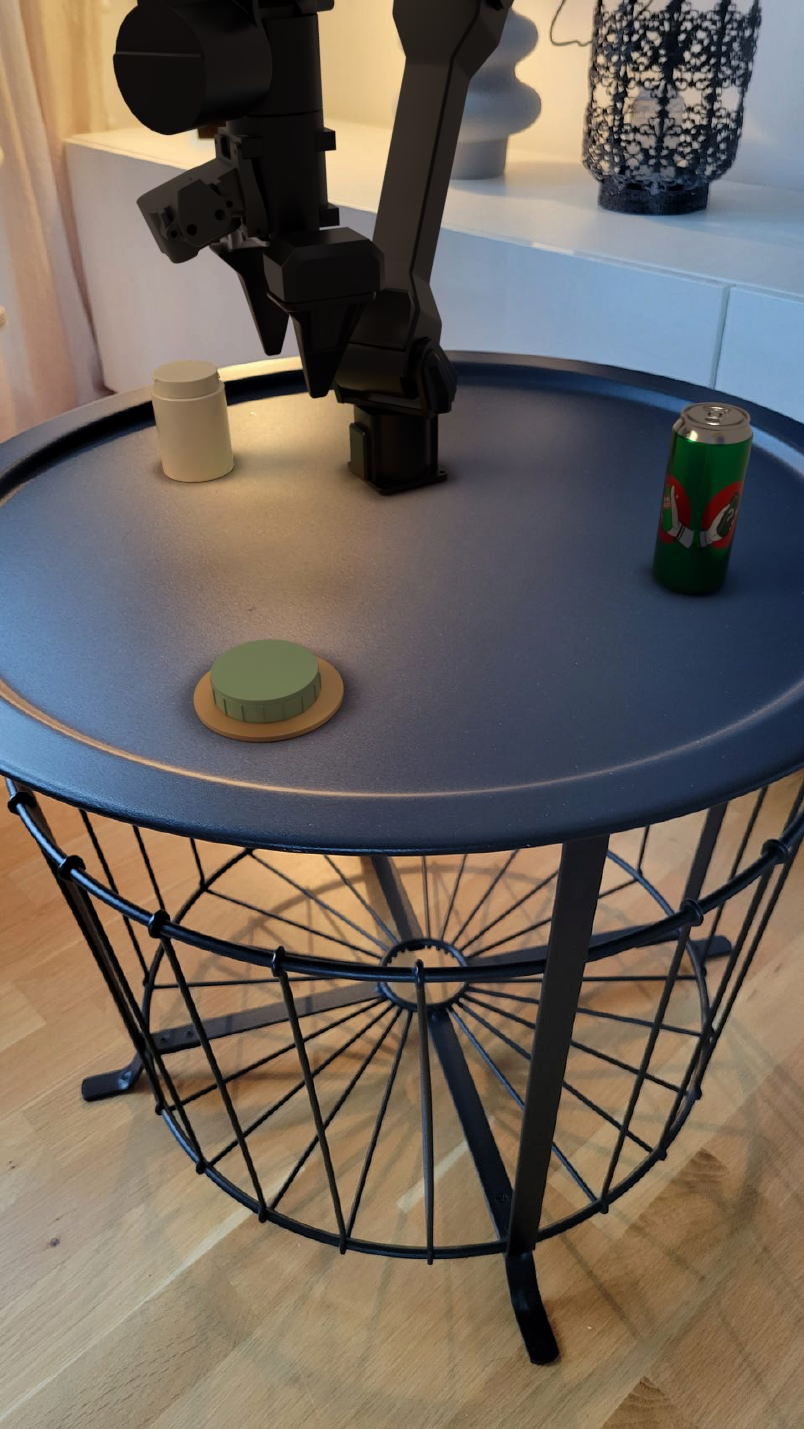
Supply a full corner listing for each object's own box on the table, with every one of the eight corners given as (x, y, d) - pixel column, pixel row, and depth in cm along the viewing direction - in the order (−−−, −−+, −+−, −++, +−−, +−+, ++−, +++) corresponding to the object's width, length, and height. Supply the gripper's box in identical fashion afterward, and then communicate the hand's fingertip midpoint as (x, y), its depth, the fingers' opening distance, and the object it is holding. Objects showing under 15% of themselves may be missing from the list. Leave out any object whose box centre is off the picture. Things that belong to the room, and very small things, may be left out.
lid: (219, 731, 60) (215, 708, 59) (207, 669, 65) (204, 647, 64) (329, 713, 61) (328, 690, 60) (310, 654, 66) (308, 632, 65)
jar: (219, 448, 94) (207, 353, 89) (244, 472, 90) (233, 374, 85) (154, 462, 92) (138, 366, 86) (177, 488, 87) (161, 388, 82)
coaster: (305, 640, 69) (305, 635, 68) (369, 712, 62) (369, 706, 62) (173, 680, 65) (172, 675, 65) (227, 760, 59) (226, 755, 59)
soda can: (727, 568, 75) (759, 404, 68) (720, 603, 71) (753, 433, 64) (656, 558, 77) (680, 396, 69) (645, 591, 73) (669, 424, 66)
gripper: (104, 100, 66) (144, 352, 75) (178, 145, 52) (216, 445, 61) (273, 88, 69) (292, 330, 79) (385, 127, 56) (391, 414, 65)
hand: (294, 375), depth 71 cm, fingers open, 9 cm apart
